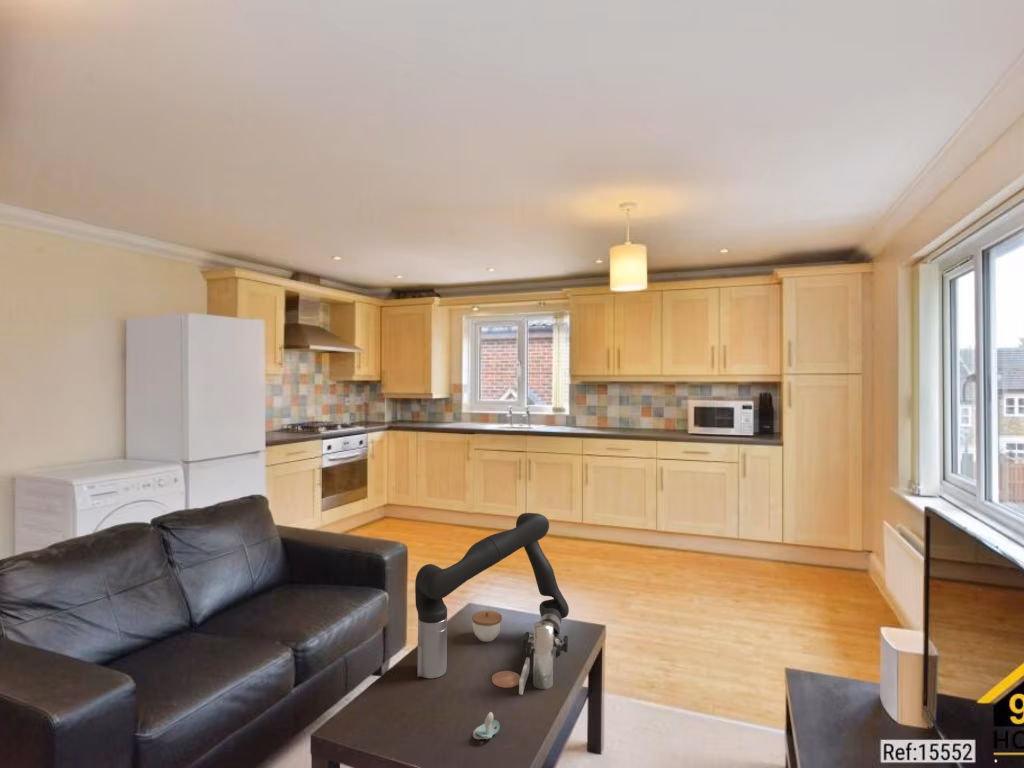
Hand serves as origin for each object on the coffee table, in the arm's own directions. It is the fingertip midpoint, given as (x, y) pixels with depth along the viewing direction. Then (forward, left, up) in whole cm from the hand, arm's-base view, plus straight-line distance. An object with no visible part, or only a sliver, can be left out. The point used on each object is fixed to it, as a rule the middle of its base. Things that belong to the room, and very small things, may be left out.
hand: (542, 653), depth 166 cm
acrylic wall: (-5, +3, -10) cm, 12 cm away
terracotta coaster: (-10, +5, -10) cm, 15 cm away
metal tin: (0, +1, -10) cm, 10 cm away
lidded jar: (-13, +33, -10) cm, 37 cm away
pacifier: (-20, -20, -10) cm, 30 cm away
